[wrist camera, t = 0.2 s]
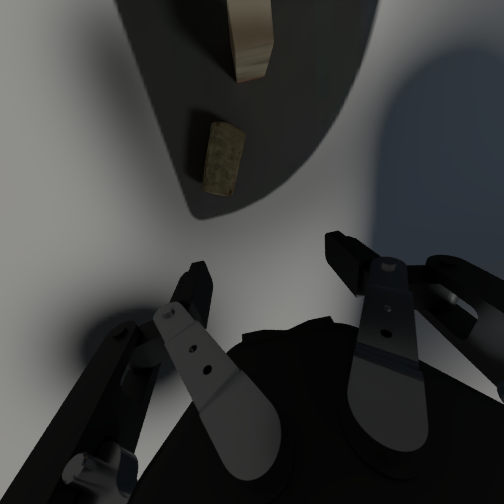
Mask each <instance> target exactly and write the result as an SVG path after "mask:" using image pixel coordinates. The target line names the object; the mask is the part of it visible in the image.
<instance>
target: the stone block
mask: <svg viewBox="0 0 504 504" xmlns="http://www.w3.org/2000/svg"><path fill="white" fill-rule="evenodd" d="M244 141H245V133H244V132H243V131H241V130H239V129H237V128H236V127H234V126H233V125H231V124H229V123H226V122H219V121H217V122H213V123H211V130H210V137H209V141H208V149H207V155H206V161H205V168H204V176H203V183H202V187H203V190H204V191H206V192H209V193H213V194H217V195H222V196H232V195H233V191H234V187H235V182H236V177H237V173H238V167H239V162H240V158H241V155H242V151H243V146H244Z"/></svg>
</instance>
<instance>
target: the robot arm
mask: <svg viewBox="0 0 504 504" xmlns="http://www.w3.org/2000/svg"><path fill="white" fill-rule="evenodd" d="M325 256H326V260H327V262H328V264H329V265H330V266H331V267H332V268H333V270H334V271H335V272H336V273H337V275H338V276H339V277H340V278H341V280H342V281H343V282H344V283H345V285H347V287H348V288H349V289H350V291H351V292H352V293H353V294H354V295H355V297H361V296H365V297H364V303H363V308H362V313H361V319H360V325H359V328H357V327H354V326H351V325H347V324H342V323H334V322H333V320H332V319H331V317H330V316H327V317H322V318H317V319H312V320H308V321H306V322H304V323H302V324H299V325H297V326H295V327H293V328H291V329H289V330H260V331H255V332H250V333H245V334H242V342H241V343H239V344H237V345H235V346H234V347H233V348H231V349H230V350H229V351H228V352H227V353H225V352H224V351H223V350H222V349H221V347H220V346H219V345H218V344H217V343H216V341H215V340H214V339H213V338H212V337H211V336H210V335H209V333H208V332H207V331H206V330H205V329H206V328H207V322H208V316H209V310H210V304H211V297H212V292H213V282H212V278H211V276H210V274H209V271H208V268H207V266H206V264H205V262H204V261H199V262H195V263H192V264H191V266H190V269H189V271H188V272H185V273H184V274H183V276H181V278H180V280H179V282H178V284H177V287H176V289H175V291H174V293H173V296H172V298H171V300H170V303H168V304H166V305H164V306H163V307H161V308H160V309H159V310H158V311H157V312H156V313H155V315H154V318H153V320H151V321H149V322H147V323H145V324H142V325H140V326H137V324H136V323H135V322H134V321H126V322H124V323H121V324H120V325H118V326H116V327H115V328H114V329H112V330H111V331H110V332H109V333H108V334H107V336H106V337H105V339H104V340H103V342H102V343H101V345H100V346H99V348H98V350H97V351H96V353H95V354H94V356H93V357H92V359H91V360H90V362H89V364H88V365H87V367H86V368H85V370H84V371H83V373H82V374H81V376H80V378H79V379H78V381H77V382H76V384H75V385H74V387H73V389H72V390H71V391H70V393H69V395H68V396H67V398H66V399H65V401H64V402H63V404H62V406H61V407H60V409H59V410H58V412H57V413H56V415H55V416H54V418H53V419H52V421H51V423H50V424H49V426H48V427H47V429H46V430H45V432H44V433H43V435H42V437H41V438H40V440H39V441H38V443H37V444H36V446H35V447H34V449H33V451H32V452H31V454H30V455H29V457H28V458H27V460H26V461H25V463H24V464H23V466H22V468H21V469H20V471H19V472H18V474H17V475H16V477H15V478H14V480H13V482H12V483H11V485H10V486H9V488H8V489H7V491H6V492H5V494H4V496H3V497H2V499H1V500H0V504H504V404H502V403H500V402H498V401H496V400H494V399H493V398H490V397H489V396H487V395H485V394H483V393H481V392H479V391H477V390H475V389H473V388H471V387H470V386H468V385H466V384H464V383H462V382H460V381H458V380H457V379H455V378H453V377H451V376H449V375H447V374H445V373H443V372H441V371H439V370H438V369H436V368H434V367H432V366H430V365H428V364H426V363H424V362H422V361H420V360H419V359H418V348H417V336H416V325H415V313H414V310H417V311H419V312H420V313H421V314H422V315H423V316H424V317H425V318H426V319H427V320H428V321H429V322H430V323H431V324H432V325H433V326H434V327H435V328H436V329H437V330H438V331H439V332H440V333H441V334H442V335H443V336H444V337H445V338H446V339H447V340H449V341H450V342H451V343H452V344H453V345H454V346H455V347H456V348H457V349H458V350H459V351H460V352H461V353H462V354H463V355H464V356H465V357H466V358H467V359H468V360H469V361H471V363H472V364H473V365H475V366H476V368H478V369H479V370H480V371H481V372H482V373H483V374H484V375H485V376H486V377H487V378H488V379H489V380H490V381H491V382H492V383H493V384H494V385H495V386H496V387H497V392H498V395H499V397H500V399H501V400H502V402H503V403H504V280H502V279H500V278H498V277H496V276H494V275H492V274H490V273H488V272H487V271H485V270H482V269H481V268H479V267H476V266H475V265H473V264H471V263H469V262H467V261H465V260H463V259H461V258H458V257H454V256H449V255H434V256H430V257H429V258H428V259H427V261H426V264H425V265H410V266H409V265H406V264H405V263H404V262H403V261H402V260H399V259H397V258H393V257H381V256H379V255H378V254H376V253H375V252H374V251H372V250H371V249H370V248H368V247H366V245H364V244H362V242H360V241H359V240H357V239H356V238H353V237H350V236H345V235H344V234H342V233H341V232H340V231H334V232H330V233H326V234H325ZM458 298H460V299H462V300H463V301H465V302H466V303H467V304H469V305H470V306H472V307H473V308H474V309H475V311H476V312H477V315H478V320H477V319H476V318H475V317H473V316H472V315H471V314H469V313H468V312H467V311H465V310H464V309H463V308H461V307H460V306H459V305H457V304H456V303H457V301H458ZM169 358H171V359H172V361H173V362H174V364H175V366H176V368H177V370H178V372H179V374H180V376H181V378H182V380H183V382H184V384H185V386H186V388H187V390H188V392H189V393H190V396H191V397H192V400H193V401H192V402H191V404H190V405H189V407H188V408H187V410H186V411H185V412H184V414H183V415H182V417H181V418H180V420H179V421H178V423H177V424H176V426H175V427H174V429H173V430H172V431H171V433H170V434H169V436H168V437H167V439H166V440H165V442H164V443H163V445H162V446H161V447H160V449H159V450H158V452H157V453H156V455H155V456H154V458H153V459H152V461H151V462H150V464H149V465H148V466H147V468H146V469H145V471H144V472H143V474H142V476H141V477H140V479H139V480H138V481H137V473H138V460H137V458H136V456H135V455H134V452H135V449H136V446H137V442H138V439H139V436H140V432H141V429H142V426H143V422H144V419H145V416H146V412H147V409H148V405H149V402H150V399H151V395H152V392H153V389H154V385H155V382H156V379H157V375H158V372H159V368H160V365H161V362H163V361H165V360H167V359H169ZM126 367H127V368H128V369H129V370H128V372H127V374H126V376H125V379H124V381H123V383H122V385H120V383H121V378H122V375H123V373H124V371H125V369H126Z"/></svg>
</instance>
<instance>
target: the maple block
mask: <svg viewBox="0 0 504 504" xmlns="http://www.w3.org/2000/svg"><path fill="white" fill-rule="evenodd" d="M226 1H227V11H228V22H229V33H230V43H231V50H232V56H233V62H234V68H235V74H236V80H237V83H239V82H243V81H248V80H253V79H257V78H262V77H264V76H265V72H266V69H267V65H268V62H269V58H270V55H271V51H272V48H273V44H274V37H273V26H272V14H271V3H270V0H226Z"/></svg>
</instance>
